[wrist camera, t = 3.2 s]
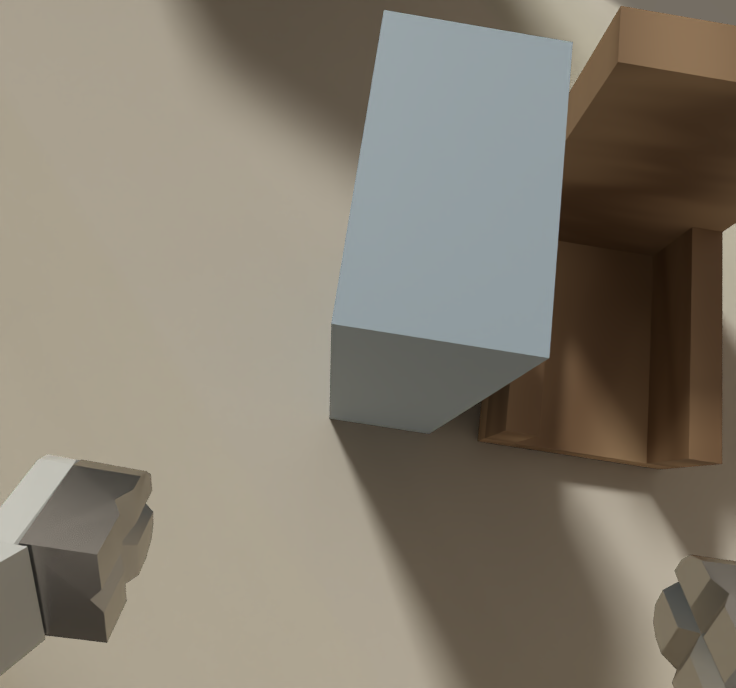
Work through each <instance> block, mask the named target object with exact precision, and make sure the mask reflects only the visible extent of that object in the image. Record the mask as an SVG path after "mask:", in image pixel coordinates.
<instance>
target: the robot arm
mask: <svg viewBox="0 0 736 688" xmlns="http://www.w3.org/2000/svg"><path fill="white" fill-rule="evenodd" d="M151 492H152V482H151V474H150V473H148V472H147V471H142V470H137V469H131V468H126V467H120V466H114V465H109V464H103V463H98V462H92V461H87V460H77V459H72V458H66V457H61V456H55V455H50V454H47V455H45V456H44V457H42V458H40V459H38V460H37V461H36V462H35V464H34V465H33V466H32V467H31V469H30V470H29V471H28V472H27V474H26V475H25V476H24V477H23V479H22V480H21V481H20V483H19V484H18V485H17V486H16V488H15V489H14V490H13V491H12V493H11V494H10V495H9V496H8V498H7V499H6V500H5V501H4V503H3V504H2V505H1V507H0V676H1V675H2V674H3V673H5V672H6V671H7V670H8V669H10V668H11V667H12V666H13V665H14V664H16V663H17V662H18V661H19V660H21V659H22V658H23V657H24V656H26V655H27V654H28V653H29V652H30V651H32V650H33V649H34V648H35V647H37V646H38V645H39V644H40V643H41V642H43V641H44V640H45V635H46V636H55V637H63V638H71V639H80V640H88V641H97V642H105V643H107V642H108V640H109V638H110V636H111V633H112V631H113V629H114V627H115V625H116V623H117V621H118V619H119V616H120V614H121V612H122V610H123V608H124V606H125V604H126V601H127V599H126V583H128V582H129V581H131V580H132V579H133V578H135V577H136V576H138V575H139V573H140V571H141V569H142V566H143V564H144V562H145V560H146V557H147V553H148V550H149V546H150V543H151V539H152V532H153V511H152V510H151V509H150V508H149V507H148V505H147V504H146V502H147V500H148V498H149V496H150V494H151ZM675 573H676V576H677V579H678V582H677V583H675V584H673V585H671V586H669V587H668V588H666V589H664V590H663V591H662V593H661V594H660V596H659V598H658V600H657V602H656V604H655V610H654V619H653V625H654V631H655V638H656V640H657V643H658V646H659V649H660V652H661V654H662V655H663V656H664V657H665V658H666V659H667V660H668V661H669V662H670V663H671V664H672V665H673V666H674V667H675V668H676V669H677V670H676V673H675V676H674V678H673V681H672V684H673V687H674V688H736V561H731V560H724V559H717V558H710V557H703V556H696V555H689V556H687V557H685V558H683V559H682V560H681V561H680V563H679V564H678V566H677V568H676V569H675Z"/></svg>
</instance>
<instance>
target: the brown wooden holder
mask: <svg viewBox="0 0 736 688" xmlns="http://www.w3.org/2000/svg"><path fill="white" fill-rule="evenodd" d="M735 223H736V26H733V25H728V24H722V23H716V22H711V21H705V20H699V19H693V18H688V17H682V16H676V15H670V14H664V13H659V12H653V11H647V10H641V9H636V8H630V7H624V6H621V7H620V8H619V10H618V12H617V13H616V15H615V17H614V18H613V20H612V22H611V23H610V25H609V27H608V28H607V30H606V32H605V33H604V35H603V37H602V39H601V40H600V42H599V44H598V45H597V47H596V49H595V50H594V52H593V54H592V55H591V57H590V59H589V60H588V62H587V64H586V65H585V67H584V69H583V70H582V72H581V74H580V75H579V77H578V79H577V80H576V82H575V84H574V86H573V87H572V89H571V91H570V92H569V98H568V112H567V125H566V139H565V153H564V166H563V180H562V193H561V207H560V220H559V234H558V247H557V261H556V274H555V288H554V301H553V315H552V328H551V342H550V355H549V359H547V360H546V361H544V362H542V363H541V364H539V365H538V366H536V367H534V368H533V369H531V370H530V371H528V372H527V373H525V374H523V375H522V376H520V377H519V378H517V379H515V380H514V381H512V382H511V383H509V384H507V385H506V386H504V387H503V388H501V389H500V390H498V391H496V392H495V393H493V394H492V395H490V396H488V397H487V398H485V399H484V400H482V402H481V412H480V422H479V432H478V441H480V442H486V443H493V444H499V445H506V446H512V447H519V448H525V449H532V450H538V451H545V452H551V453H558V454H564V455H571V456H577V457H584V458H590V459H597V460H603V461H610V462H616V463H623V464H629V465H636V466H642V467H649V468H655V469H669V468H680V467H692V466H703V465H715V464H722V232H723V231H724V230H726V229H727V228H729V227H730V226H732V225H733V224H735Z"/></svg>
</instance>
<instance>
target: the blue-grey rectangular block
mask: <svg viewBox="0 0 736 688" xmlns="http://www.w3.org/2000/svg"><path fill="white" fill-rule="evenodd" d="M572 44H573V42H569V41H563V40H557V39H551V38H545V37H540V36H534V35H528V34H522V33H516V32H510V31H504V30H499V29H493V28H487V27H481V26H475V25H469V24H464V23H458V22H452V21H446V20H440V19H434V18H429V17H423V16H417V15H411V14H405V13H399V12H394V11H388V10H384V12H383V18H382V24H381V30H380V36H379V42H378V48H377V54H376V60H375V66H374V72H373V78H372V84H371V90H370V96H369V102H368V108H367V114H366V120H365V126H364V132H363V138H362V144H361V150H360V156H359V162H358V168H357V174H356V180H355V186H354V192H353V198H352V204H351V210H350V216H349V222H348V228H347V234H346V240H345V246H344V252H343V258H342V264H341V270H340V276H339V281H338V287H337V293H336V299H335V305H334V311H333V317H332V323H331V369H330V417H329V419H336V420H342V421H349V422H355V423H362V424H368V425H375V426H381V427H388V428H394V429H401V430H407V431H414V432H420V433H427V434H430V433H431V432H433V431H435V430H436V429H438V428H439V427H441V426H442V425H444V424H446V423H447V422H449V421H450V420H452V419H454V418H455V417H457V416H458V415H460V414H461V413H463V412H465V411H466V410H468V409H469V408H471V407H473V406H474V405H476V404H477V403H479V402H481V401H482V400H484V399H485V398H487V397H488V396H490V395H492V394H493V393H495V392H496V391H498V390H500V389H501V388H503V387H504V386H506V385H507V384H509V383H511V382H512V381H514V380H515V379H517V378H519V377H520V376H522V375H523V374H525V373H527V372H528V371H530V370H531V369H533V368H534V367H536V366H538V365H539V364H541V363H542V362H544V361H546V360H547V359H549V355H550V342H551V328H552V315H553V301H554V288H555V274H556V261H557V247H558V234H559V220H560V207H561V193H562V180H563V166H564V153H565V139H566V125H567V112H568V98H569V85H570V71H571V58H572Z"/></svg>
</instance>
